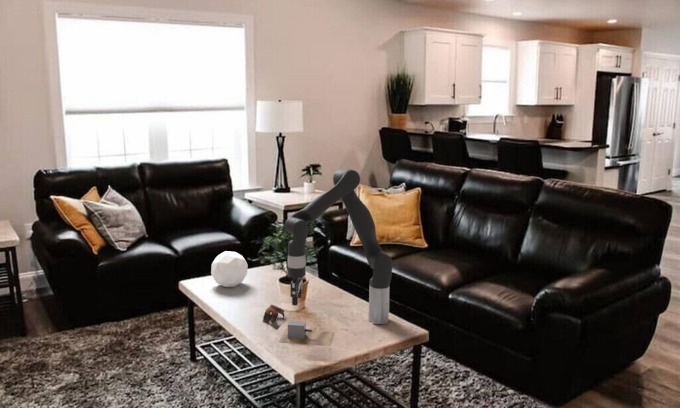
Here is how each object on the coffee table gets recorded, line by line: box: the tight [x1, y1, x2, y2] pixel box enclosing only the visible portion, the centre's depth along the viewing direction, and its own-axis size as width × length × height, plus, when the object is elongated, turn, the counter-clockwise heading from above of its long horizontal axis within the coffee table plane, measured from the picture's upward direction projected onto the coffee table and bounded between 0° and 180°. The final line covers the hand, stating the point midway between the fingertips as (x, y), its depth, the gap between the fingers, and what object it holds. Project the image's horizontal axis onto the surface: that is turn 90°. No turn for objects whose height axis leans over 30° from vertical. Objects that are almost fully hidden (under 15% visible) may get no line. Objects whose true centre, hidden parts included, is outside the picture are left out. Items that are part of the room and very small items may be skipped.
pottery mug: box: [262, 304, 285, 324], centre depth 266 cm, size 12×10×8 cm
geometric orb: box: [210, 250, 249, 288], centre depth 311 cm, size 19×20×20 cm
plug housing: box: [287, 320, 313, 339], centre depth 247 cm, size 10×4×6 cm, turn 83°
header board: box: [278, 328, 335, 347], centre depth 247 cm, size 22×14×5 cm, turn 83°
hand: (296, 301), depth 244 cm, fingers open, 8 cm apart
